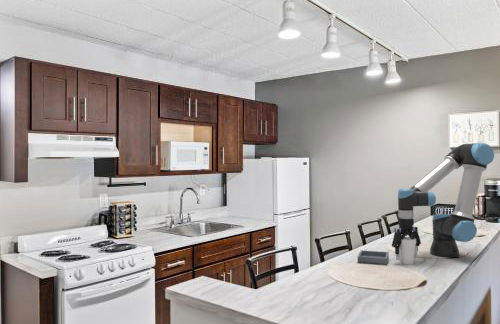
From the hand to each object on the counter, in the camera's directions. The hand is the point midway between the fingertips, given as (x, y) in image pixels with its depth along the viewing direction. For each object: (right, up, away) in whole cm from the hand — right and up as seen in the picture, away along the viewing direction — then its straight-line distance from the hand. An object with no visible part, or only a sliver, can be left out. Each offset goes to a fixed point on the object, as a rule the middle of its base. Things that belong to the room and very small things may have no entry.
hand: (406, 259), depth 206 cm
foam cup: (0, -2, 0) cm, 2 cm away
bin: (-16, -2, +6) cm, 17 cm away
